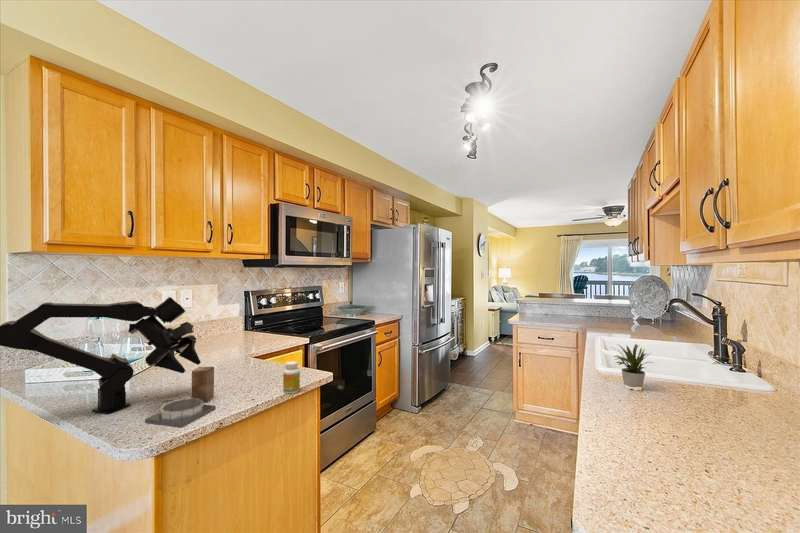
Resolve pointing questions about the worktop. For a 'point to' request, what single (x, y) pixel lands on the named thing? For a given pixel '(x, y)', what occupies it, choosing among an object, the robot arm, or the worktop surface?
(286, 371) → the supplement bottle
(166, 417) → the duct collar
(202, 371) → the upright wooden block
